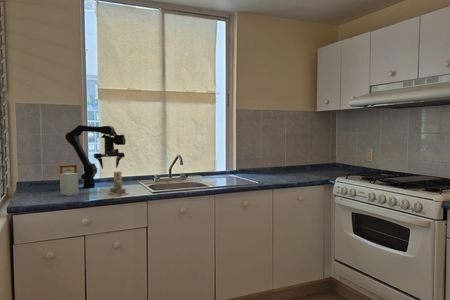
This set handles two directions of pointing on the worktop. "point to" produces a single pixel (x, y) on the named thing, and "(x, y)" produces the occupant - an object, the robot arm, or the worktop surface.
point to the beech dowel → (117, 180)
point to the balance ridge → (117, 192)
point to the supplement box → (69, 183)
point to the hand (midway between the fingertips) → (109, 168)
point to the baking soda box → (68, 168)
